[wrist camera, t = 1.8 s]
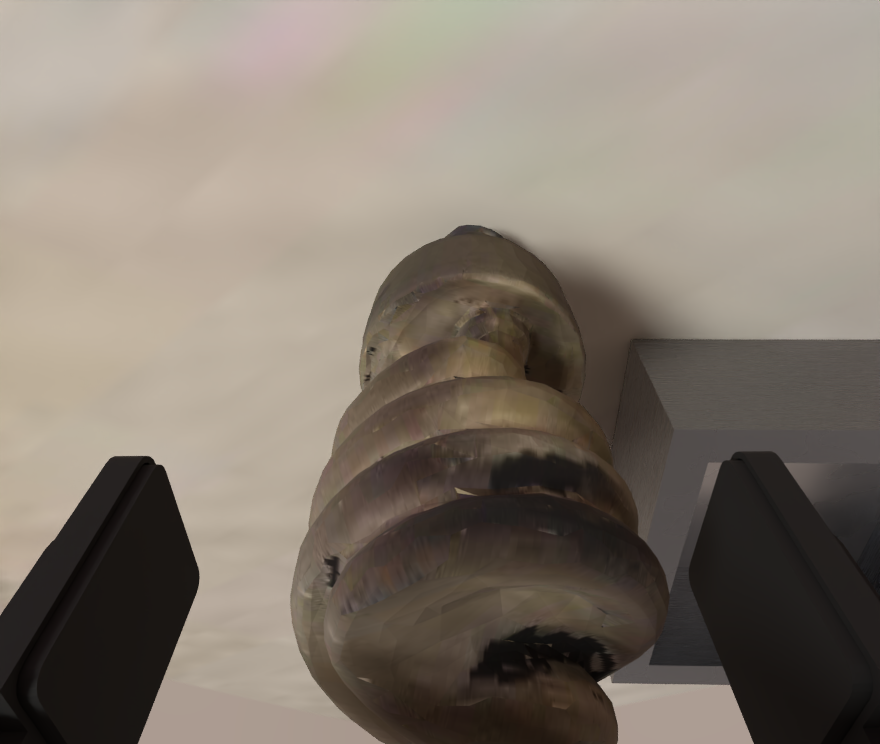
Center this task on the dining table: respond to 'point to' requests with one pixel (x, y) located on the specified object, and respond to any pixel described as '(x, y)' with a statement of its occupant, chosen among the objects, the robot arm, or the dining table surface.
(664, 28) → the dining table surface
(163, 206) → the dining table surface
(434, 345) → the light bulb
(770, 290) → the dining table surface
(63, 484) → the dining table surface
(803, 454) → the frame
